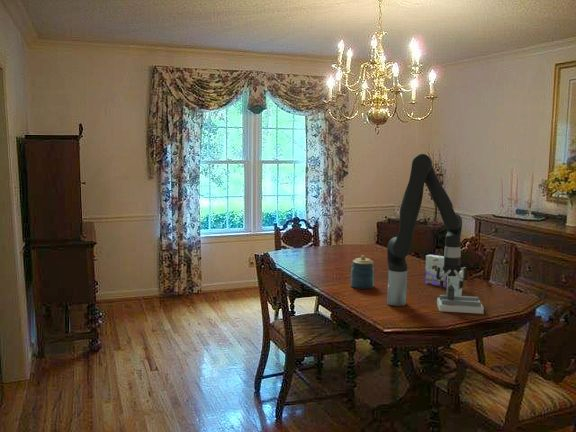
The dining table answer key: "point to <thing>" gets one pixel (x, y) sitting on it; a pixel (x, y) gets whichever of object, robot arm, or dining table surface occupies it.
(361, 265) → the canister
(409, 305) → the dining table surface
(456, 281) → the syrup box
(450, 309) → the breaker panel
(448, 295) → the breaker lever
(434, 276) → the candy box
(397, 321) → the dining table surface
